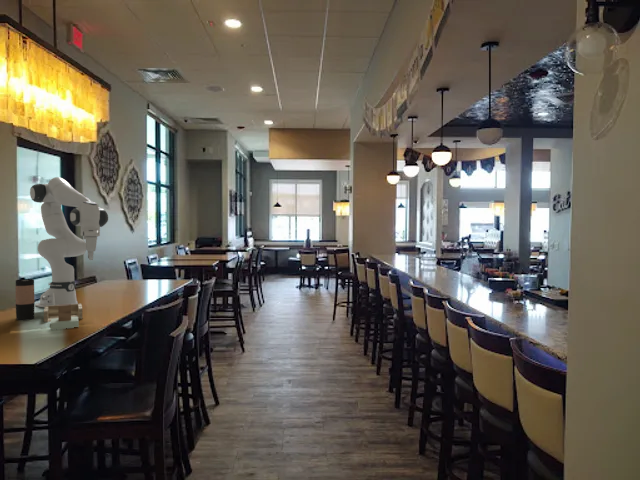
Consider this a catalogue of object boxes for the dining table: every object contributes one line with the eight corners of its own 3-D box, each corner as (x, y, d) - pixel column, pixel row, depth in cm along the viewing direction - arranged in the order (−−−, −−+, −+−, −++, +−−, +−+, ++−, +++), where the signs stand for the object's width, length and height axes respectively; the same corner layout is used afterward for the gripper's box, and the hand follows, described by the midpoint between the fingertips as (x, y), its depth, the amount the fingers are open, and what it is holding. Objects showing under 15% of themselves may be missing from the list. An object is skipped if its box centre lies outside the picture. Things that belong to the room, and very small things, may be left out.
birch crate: (45, 317, 221) (45, 305, 221) (81, 314, 229) (81, 303, 229) (43, 324, 207) (43, 311, 207) (82, 320, 215) (82, 308, 215)
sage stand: (51, 325, 205) (51, 318, 205) (78, 322, 211) (78, 316, 211) (50, 330, 196) (50, 323, 196) (78, 327, 202) (78, 320, 201)
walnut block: (58, 319, 204) (58, 304, 204) (70, 318, 207) (70, 303, 207) (58, 321, 200) (58, 306, 200) (71, 320, 203) (70, 305, 202)
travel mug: (12, 321, 211) (11, 280, 211) (27, 318, 219) (27, 278, 218) (22, 323, 209) (22, 281, 208) (38, 319, 216) (37, 279, 215)
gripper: (82, 232, 235) (82, 258, 235) (84, 233, 217) (84, 260, 218) (95, 232, 238) (95, 257, 239) (98, 233, 220) (98, 260, 221)
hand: (90, 259), depth 228 cm, fingers open, 8 cm apart
